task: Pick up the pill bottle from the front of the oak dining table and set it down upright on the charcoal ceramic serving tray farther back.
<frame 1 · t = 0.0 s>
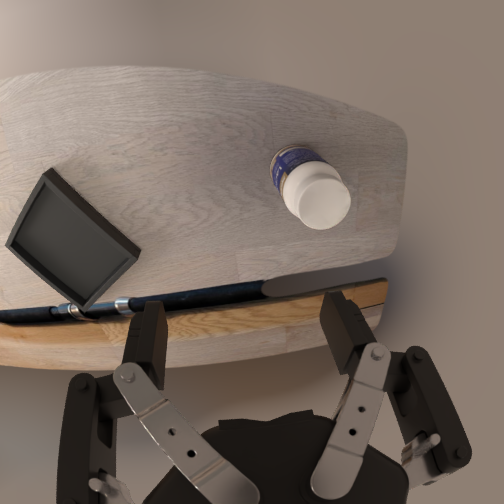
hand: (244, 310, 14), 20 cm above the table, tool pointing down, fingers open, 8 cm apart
pill bottle: (293, 167, 31), on the table
serving tray: (68, 243, 32), on the table
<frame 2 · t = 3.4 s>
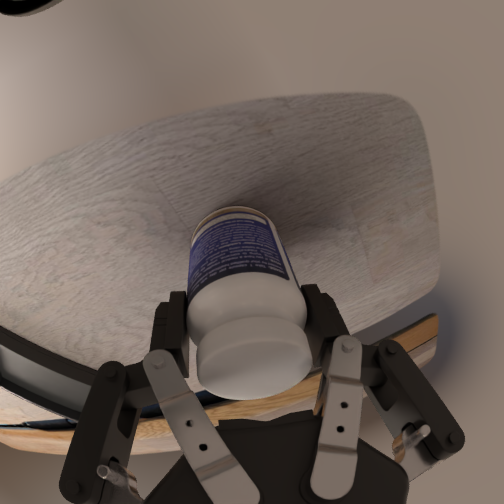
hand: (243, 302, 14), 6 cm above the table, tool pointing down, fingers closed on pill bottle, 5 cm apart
pill bottle: (234, 241, 19), on the table, touching gripper
serving tray: (43, 375, 26), on the table
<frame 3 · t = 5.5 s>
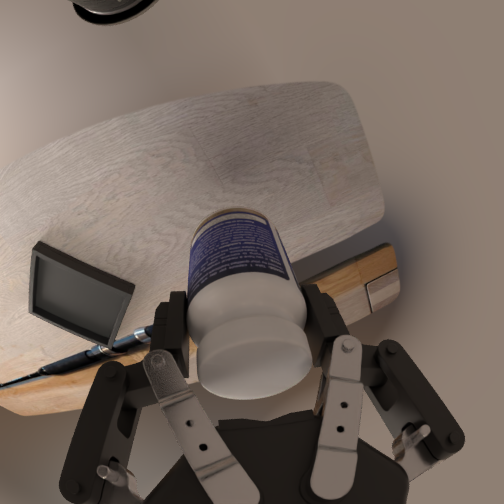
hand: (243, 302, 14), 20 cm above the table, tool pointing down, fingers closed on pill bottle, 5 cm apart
pill bottle: (234, 241, 19), point 14 cm above the table, touching gripper
serving tray: (77, 296, 37), on the table
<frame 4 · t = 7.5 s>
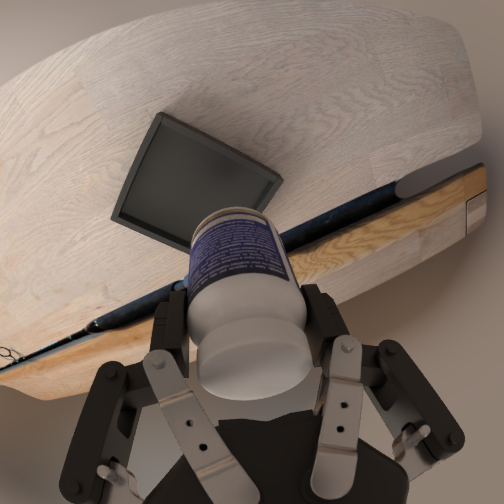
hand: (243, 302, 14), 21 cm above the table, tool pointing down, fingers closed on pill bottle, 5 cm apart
pill bottle: (234, 242, 19), point 16 cm above the table, touching gripper
serving tray: (193, 192, 33), on the table
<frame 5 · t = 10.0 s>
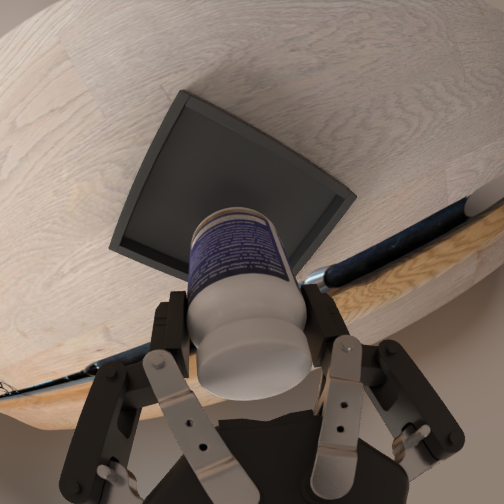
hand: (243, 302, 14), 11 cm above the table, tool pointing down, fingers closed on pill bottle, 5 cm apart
pill bottle: (234, 242, 19), point 5 cm above the table, touching gripper
serving tray: (228, 209, 24), on the table
when the fingers open (6 cm above the table, at t = 11.8 s): pill bottle stays where it is, resting on serving tray.
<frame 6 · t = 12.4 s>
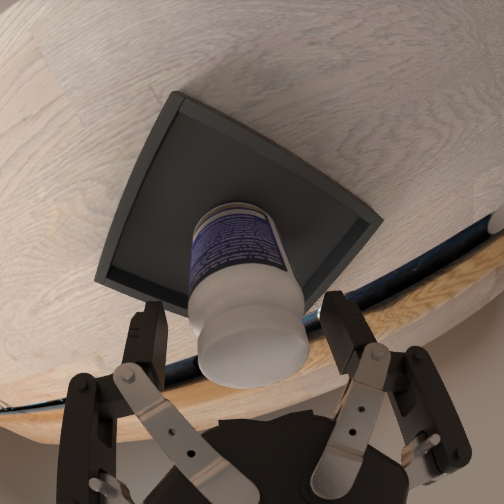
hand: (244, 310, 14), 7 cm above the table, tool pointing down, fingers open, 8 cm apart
pill bottle: (235, 237, 20), resting on serving tray
serving tray: (233, 234, 20), on the table
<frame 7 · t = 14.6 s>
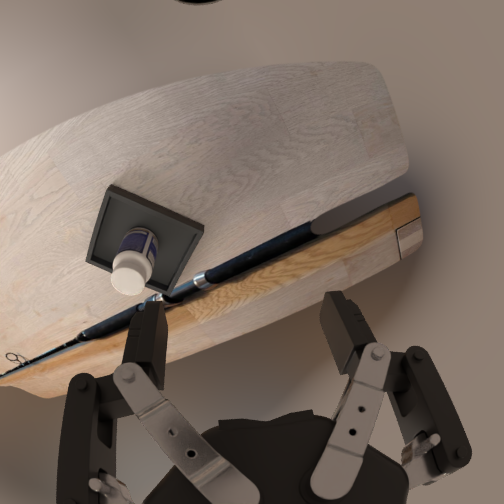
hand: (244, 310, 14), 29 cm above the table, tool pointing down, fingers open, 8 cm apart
pill bottle: (141, 241, 43), resting on serving tray
serving tray: (141, 240, 43), on the table
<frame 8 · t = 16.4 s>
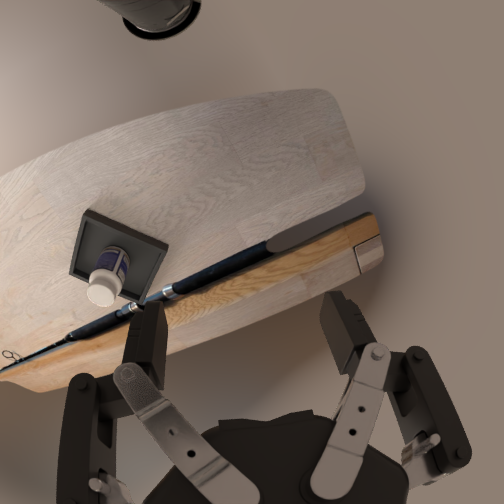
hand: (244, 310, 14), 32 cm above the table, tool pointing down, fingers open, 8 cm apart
pill bottle: (115, 258, 47), resting on serving tray
serving tray: (116, 257, 48), on the table
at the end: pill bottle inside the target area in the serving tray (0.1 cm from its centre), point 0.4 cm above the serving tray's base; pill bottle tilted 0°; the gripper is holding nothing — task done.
